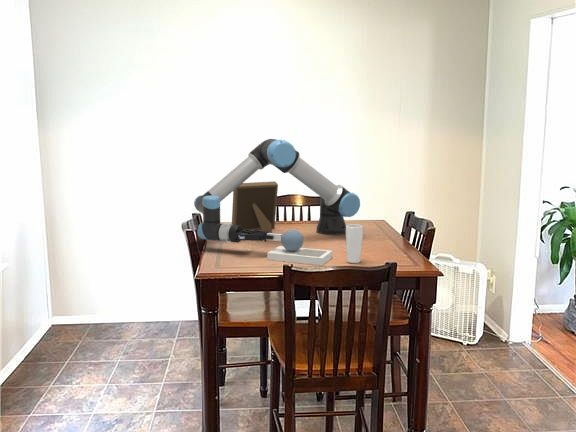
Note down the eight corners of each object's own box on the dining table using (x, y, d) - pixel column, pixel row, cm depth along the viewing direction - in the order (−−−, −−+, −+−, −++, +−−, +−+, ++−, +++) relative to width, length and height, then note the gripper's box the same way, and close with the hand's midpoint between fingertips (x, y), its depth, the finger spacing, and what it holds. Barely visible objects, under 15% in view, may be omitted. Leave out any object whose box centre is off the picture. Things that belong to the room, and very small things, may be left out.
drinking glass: (344, 260, 241) (344, 224, 238) (360, 259, 241) (360, 224, 239) (347, 264, 234) (347, 227, 231) (363, 263, 235) (364, 227, 232)
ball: (292, 245, 250) (306, 232, 247) (294, 259, 243) (308, 245, 239) (276, 235, 247) (290, 221, 243) (277, 248, 239) (291, 235, 236)
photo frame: (231, 230, 299) (230, 181, 294) (271, 227, 306) (271, 179, 301) (239, 236, 285) (238, 186, 280) (281, 233, 293) (281, 183, 288)
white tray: (267, 259, 242) (267, 252, 241) (279, 252, 254) (279, 245, 253) (322, 265, 233) (322, 258, 232) (332, 257, 244) (332, 250, 244)
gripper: (238, 238, 260) (287, 243, 251) (224, 245, 248) (275, 249, 239) (238, 222, 258) (287, 225, 249) (224, 227, 247) (275, 232, 238)
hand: (281, 237), depth 244 cm, fingers closed
